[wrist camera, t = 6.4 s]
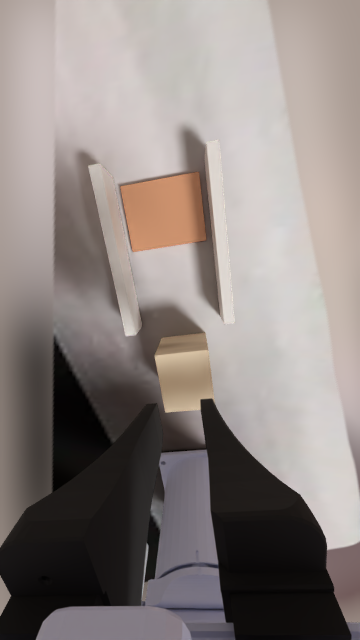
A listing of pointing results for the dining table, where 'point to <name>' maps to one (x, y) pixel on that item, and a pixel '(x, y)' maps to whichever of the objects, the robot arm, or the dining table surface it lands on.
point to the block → (184, 371)
